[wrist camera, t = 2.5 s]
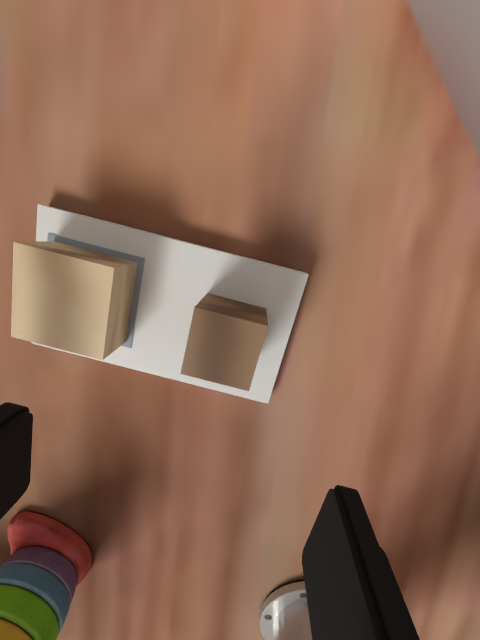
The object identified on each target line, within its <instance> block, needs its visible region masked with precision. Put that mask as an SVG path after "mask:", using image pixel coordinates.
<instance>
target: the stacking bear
mask: <svg viewBox="0 0 480 640" xmlns="http://www.w3.org/2000/svg"><path fill="white" fill-rule="evenodd" d="M7 536H8V540H9V544H10V548H11V556H10V557H9V558H7V559H6V560H5V561H4V562H3V563H2V564H1V565H0V640H56V639H57V636H58V634H59V633H60V631H61V628H62V626H63V624H64V621H65V619H66V616H67V613H68V610H69V607H70V604H71V601H72V598H73V595H74V592H75V588H76V586H77V585H78V584H79V583H80V582H81V581H82V580H83V579H84V577H85V576H86V575H87V573H88V571H89V570H90V567H91V564H92V556H91V552H90V549H89V547H88V545H87V544H86V542H85V541H84V540H83V539H82V538H81V537H80V536H79V535H78V534H76V533H75V532H74V531H73V530H71V529H70V528H68V527H67V526H65V525H63V524H62V523H60V522H58V521H56V520H54V519H52V518H49V517H47V516H44V515H41V514H37V513H33V512H27V511H24V512H21V513H20V514H17V515H15V516H14V517H13V518H12V519H11V521H10V523H9V525H8V530H7Z"/></svg>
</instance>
